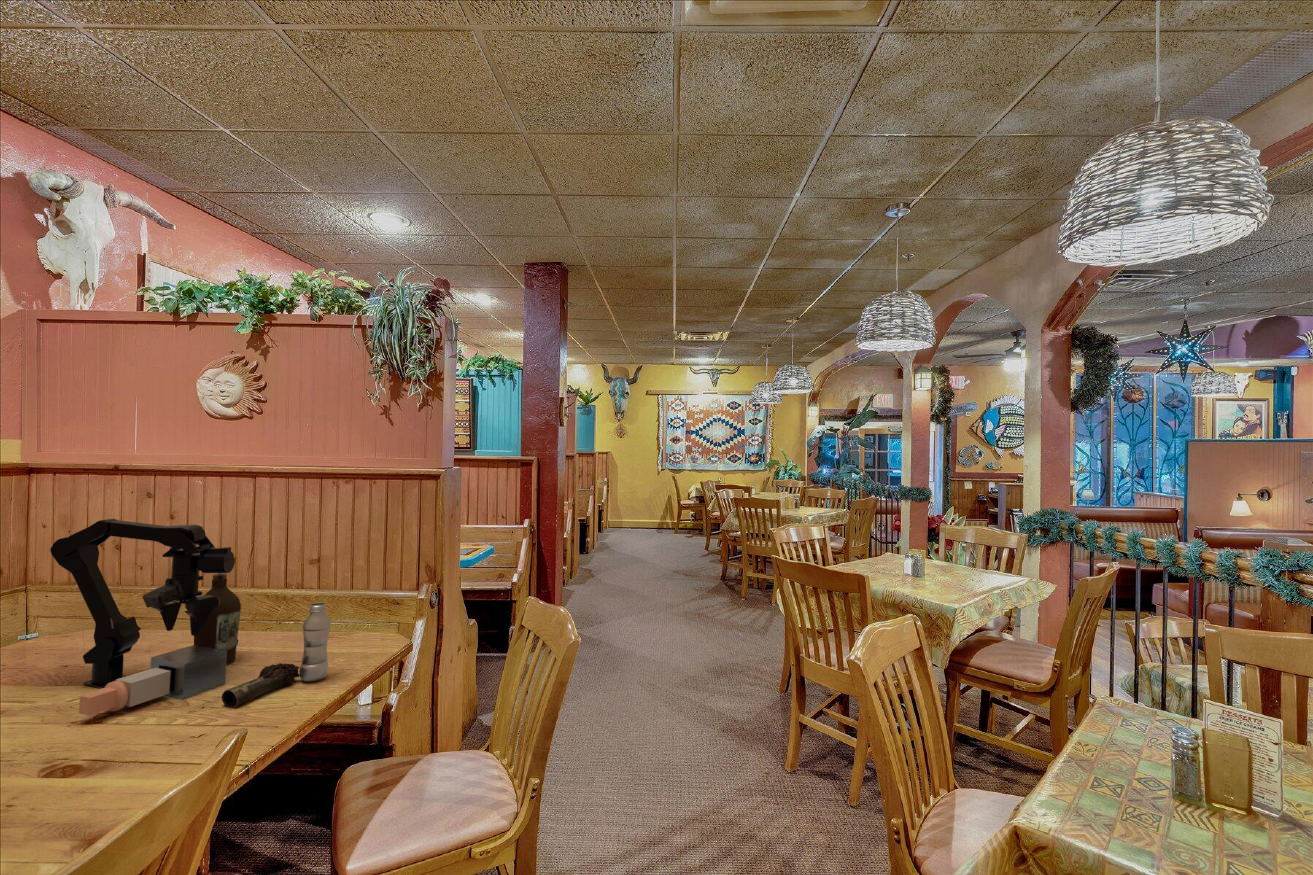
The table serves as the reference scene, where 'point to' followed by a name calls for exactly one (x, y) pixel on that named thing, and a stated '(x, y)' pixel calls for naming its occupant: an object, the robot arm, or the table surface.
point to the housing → (192, 669)
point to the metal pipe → (261, 684)
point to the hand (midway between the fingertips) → (181, 632)
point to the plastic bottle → (315, 643)
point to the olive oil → (221, 620)
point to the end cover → (127, 691)
